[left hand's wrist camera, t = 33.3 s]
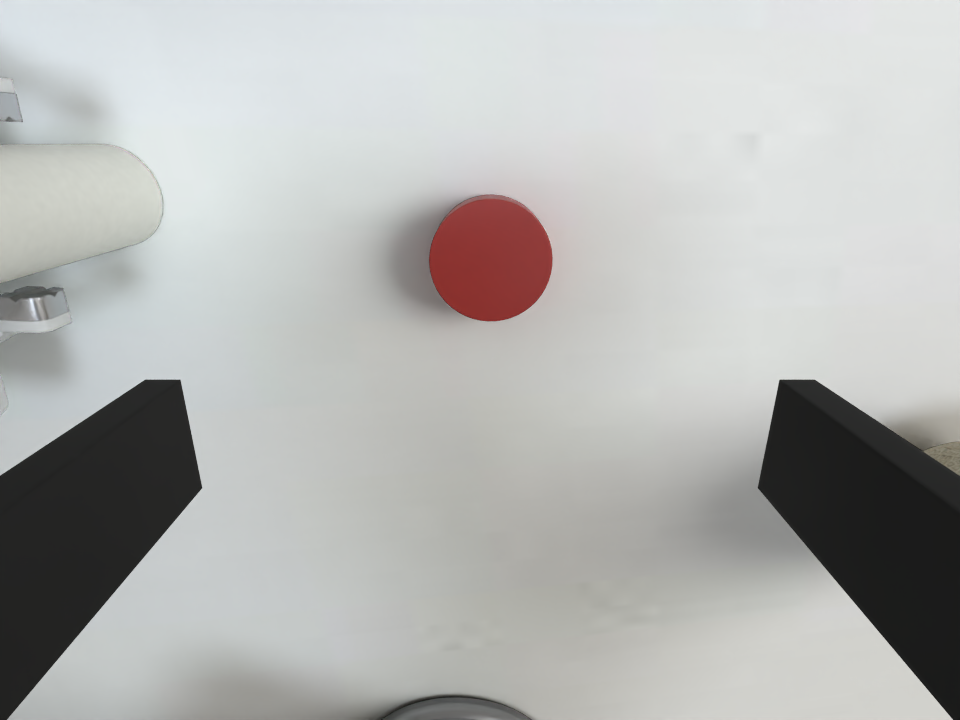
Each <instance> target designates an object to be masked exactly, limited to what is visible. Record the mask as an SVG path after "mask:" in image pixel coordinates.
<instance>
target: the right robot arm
mask: <svg viewBox="0 0 960 720" xmlns="http://www.w3.org/2000/svg"><path fill="white" fill-rule="evenodd" d="M0 121H13V122H23V121H22V116H21V112H20V108H19V103H18V99H17V94H16V92H15V88H14V84H13V79H10V78H3V77H0ZM70 323H72V319H71V315H70V311H69V307H68V304H67V300H66V297H65V293H64V290H63V288H60V287H52V288H49V289H46V288H44V287H36V286H26V287H23V288H20V289H16V290H15V291H14V292H13V293H4V294H0V342H3V341H5V340H7V339H9V338H11V337H12V336H14V335H15V334H17V333H44V332H50V331H54V330H56V329H59V328H61V327H63V326H65V325H68V324H70ZM7 408H8V397H7V394H6V391H5V387H4V384H3V381H2V378H1V375H0V416H1V415H2V414H3V413H4V412H5V411H6V409H7Z"/></svg>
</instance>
